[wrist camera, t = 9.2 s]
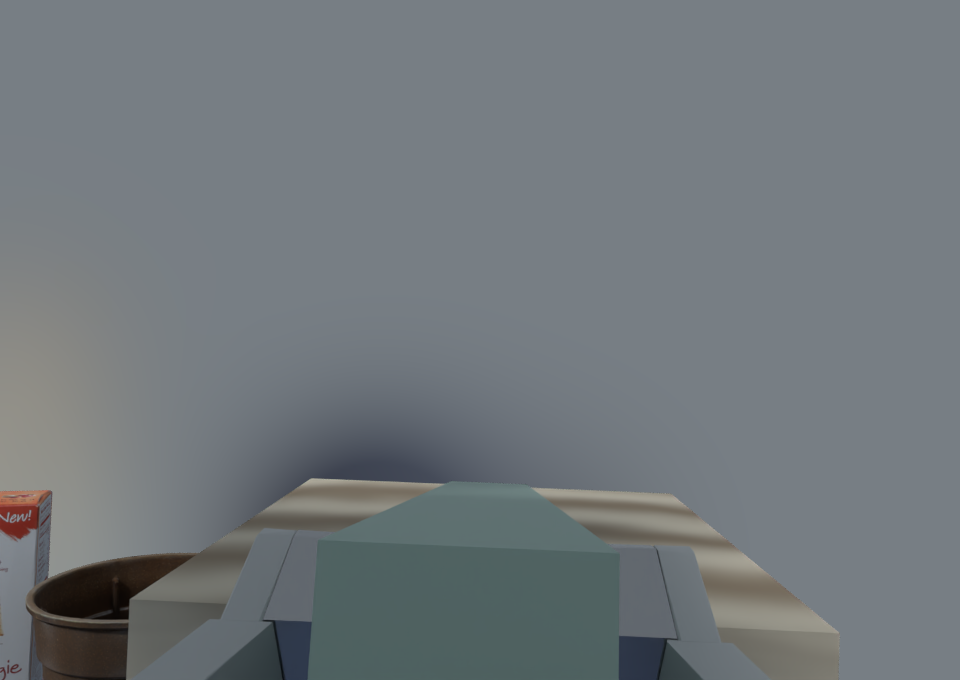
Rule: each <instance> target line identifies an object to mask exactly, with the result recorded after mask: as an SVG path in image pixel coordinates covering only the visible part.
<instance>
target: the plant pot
mask: <svg viewBox="0 0 960 680" xmlns="http://www.w3.org/2000/svg"><path fill="white" fill-rule="evenodd" d="M197 554H199V553H166V554H151V555H141V556H132V557H125V558H118V559H112V560H107V561H102V562H97V563H93V564H89V565H85V566H81V567H78V568H74V569H71V570H68V571H65V572H63V573H60V574H57V575H55V576H53V577H50V578H48V579H46V580H44V581H42V582H41V583H39V584H37V585H36V586H35V587H33V588H32V589H31V590H30V591H29V592H28V594H27V595H26V598H25V602H26V609H27V611H28V612H29V613H30V614H31V615H32V616H33V622H34V631H35V643H36V655H37V658H38V660H39V661H40V662H41V663H42V668H43V680H126V671H127V649H128V627H129V605H130V599H131V598H132V597H134V596H135V595H137V594H138V593H140V592H141V591H143V590H144V589H146V588H147V587H149V586H150V585H152V584H153V583H155V582H156V581H158V580H159V579H161V578H162V577H164V576H165V575H167V574H169V573H170V572H172V571H173V570H175V569H176V568H178V567H179V566H181V565H182V564H184V563H185V562H187V561H188V560H190V559H191V558H193V557H194V556H196V555H197Z"/></svg>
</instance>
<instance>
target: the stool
mask: <svg viewBox="0 0 960 680" xmlns="http://www.w3.org/2000/svg"><path fill="white" fill-rule="evenodd" d="M442 485H444V484H430V483H406V482H382V481H360V480H335V479H310V480H308V481H307V482H306V483H304V484H302V485H301V486H299V487H298V488H296V489H295V490H293V491H292V492H290V493H289V494H287V495H286V496H284V497H283V498H281V499H280V500H279V501H277V502H275V503H274V504H273V505H271V506H269V507H268V508H266V509H265V510H264V511H262V512H260V513H259V514H257V515H256V516H254V517H253V518H251V519H250V520H248V521H247V522H245V523H244V524H242V525H241V526H239V527H238V528H236V529H235V530H233V531H232V532H230V533H229V534H227V535H226V536H224V537H223V538H221V539H220V540H218V541H217V542H215V543H214V544H212V545H211V546H209V547H208V548H206V549H205V550H203V551H202V552H200V553H199V554H197V555H196V556H194V557H193V558H191V559H190V560H188V561H187V562H185V563H184V564H182V565H181V566H179V567H178V568H176V569H175V570H173V571H172V572H170V573H169V574H167V575H165V576H164V577H162V578H161V579H159V580H158V581H156V582H155V583H153V584H152V585H150V586H149V587H147V588H146V589H144V590H143V591H141V592H140V593H138V594H137V595H135V596H134V597H132V598H131V599H130V605H129V627H128V649H127V671H126V680H131V679H132V678H133V677H135V676H136V675H137V674H138V673H140V672H141V671H142V670H144V669H145V668H146V667H148V666H149V665H150V664H152V663H153V662H154V661H155V660H157V659H158V658H159V657H161V656H162V655H163V654H165V653H166V652H167V651H169V650H170V649H171V648H172V647H174V646H175V645H176V644H178V643H179V642H180V641H182V640H183V639H184V638H185V637H187V636H188V635H189V634H191V633H192V632H193V631H195V630H196V629H197V628H199V627H200V626H201V625H202V624H204V623H205V622H206V621H208V620H209V619H221V616H222V614H223V612H224V609H225V607H226V605H227V603H228V600H229V598H230V596H231V593H232V591H233V589H234V586H235V584H236V582H237V580H238V577H239V575H240V573H241V570H242V568H243V566H244V564H245V561H246V559H247V557H248V554H249V552H250V550H251V547H252V545H253V543H254V541H255V538H256V536H257V535H258V534H259V533H260V532H261V531H262V530H263V529H264V528H271V529H284V530H311V531H326V532H337V531H340V530H342V529H344V528H346V527H349V526H351V525H353V524H355V523H358V522H360V521H362V520H364V519H367V518H369V517H371V516H374V515H376V514H378V513H380V512H383V511H385V510H387V509H389V508H392V507H394V506H396V505H399V504H401V503H403V502H405V501H408V500H410V499H412V498H414V497H417V496H419V495H421V494H423V493H426V492H428V491H430V490H433V489H435V488H437V487H439V486H442ZM532 489H533V490H535V491H536V492H538V493H539V494H540V495H542V496H543V497H544V498H546V499H547V500H548V501H550V502H551V503H552V504H554V505H555V506H556V507H558V508H559V509H560V510H562V511H563V512H565V513H566V514H567V515H569V516H570V517H571V518H573V519H574V520H575V521H577V522H578V523H579V524H581V525H582V526H583V527H585V528H586V529H587V530H589V531H590V532H592V533H593V534H594V535H596V536H597V537H598V538H600V539H601V540H602V541H604V542H605V543H606V544H628V545H652V546H654V545H665V546H690V548H691V549H692V550H693V551H694V553H695V556H696V560H697V563H698V566H699V570H700V573H701V576H702V580H703V583H704V586H705V589H706V593H707V596H708V599H709V603H710V606H711V609H712V613H713V616H714V619H715V623H716V626H717V629H718V632H719V636H720V639H721V642H723V643H733V644H734V645H735V646H736V647H737V648H738V649H739V650H740V651H741V652H743V653H744V654H745V655H746V656H747V657H748V658H749V659H750V660H751V661H752V662H753V663H754V664H755V665H756V666H757V667H758V668H759V669H761V670H762V671H763V672H764V673H765V674H766V675H767V676H768V677H769V678H770V679H771V680H838V676H839V641H840V639H839V638H840V633H839V632H838V631H836V630H835V629H834V628H833V627H831V626H830V625H829V624H828V623H827V622H825V621H824V620H823V619H822V618H820V616H818V615H817V614H816V613H815V612H813V611H812V610H811V609H810V608H809V607H807V606H806V605H805V604H804V603H802V602H801V601H800V600H799V599H798V598H797V597H795V596H794V595H793V594H792V593H790V592H789V591H788V590H787V589H786V588H784V587H783V586H782V585H781V584H780V583H778V582H777V581H776V580H775V579H774V578H772V577H771V576H770V575H769V574H767V573H766V572H765V571H764V570H762V569H761V568H760V567H759V566H757V564H755V563H754V562H753V561H752V560H751V559H749V558H748V557H747V556H746V555H745V554H743V553H742V552H741V551H739V550H738V549H737V548H736V547H735V546H734V545H732V544H731V543H730V542H729V541H728V540H726V539H725V538H724V537H723V536H722V535H720V534H719V533H718V532H717V531H715V530H714V529H713V528H712V527H711V526H709V525H708V524H707V523H706V522H705V521H703V520H702V519H701V518H700V517H699V516H697V515H696V514H695V513H694V512H693V511H691V510H690V509H689V508H688V507H686V506H685V505H684V504H682V503H681V502H680V501H679V500H678V499H677V498H676V497H674V496H673V495H672V494H664V493H641V492H640V493H639V492H617V491H592V490H571V489H545V488H532Z"/></svg>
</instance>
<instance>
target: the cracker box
mask: <svg viewBox="0 0 960 680" xmlns="http://www.w3.org/2000/svg"><path fill="white" fill-rule="evenodd" d="M51 506H52V491H49V490H45V491H44V490H42V491H2V492H0V680H43V668H42V663H41V662H40V661H39V660H38V658H37V655H36V643H35V631H34V622H33V616H32V615H31V614H30V613H29V612H28V611H27V609H26V602H25V598H26V595H27V594H28V592H29V591H30V590H31V589H32V588H33V587H35V586H36V585H37V584H39V583H41V582H42V581H44V580H46V579H48V571H49V550H50V547H49V546H50V525H51Z"/></svg>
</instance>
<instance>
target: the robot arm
mask: <svg viewBox="0 0 960 680" xmlns="http://www.w3.org/2000/svg"><path fill="white" fill-rule="evenodd" d="M333 533H335V532H326V531H311V530H284V529H271V528H264V529H263V530H262V531H261V532H260V533H259V534H258V535H257V536H256V538H255V541H254V543H253V545H252V547H251V550H250V552H249V554H248V557H247V559H246V561H245V564H244V566H243V568H242V570H241V573H240V575H239V577H238V580H237V582H236V584H235V586H234V589H233V591H232V593H231V596H230V598H229V600H228V603H227V605H226V607H225V609H224V612H223V614H222V616H221V619H209V620H208V621H206V622H205V623H204V624H202V625H201V626H200V627H199V628H197V629H196V630H195V631H193V632H192V633H191V634H189V635H188V636H187V637H185V638H184V639H183V640H182V641H180V642H179V643H178V644H176V645H175V646H174V647H172V648H171V649H170V650H169V651H167V652H166V653H165V654H163V655H162V656H161V657H159V658H158V659H157V660H155V661H154V662H153V663H152V664H150V665H149V666H148V667H146V668H145V669H144V670H142V671H141V672H140V673H138V674H137V675H136V676H135V677H133V678H132V679H131V680H308V666H309V653H310V639H311V626H312V613H313V599H314V586H315V572H316V559H317V545H318V540H319V539H321V538H324V537H326V536H328V535H330V534H333ZM608 545H609V546H610V547H612V548H613V549H614V550H616V551H617V552H619V553H620V577H619V680H771V679H770V678H769V677H768V676H767V675H766V674H765V673H764V672H763V671H762V670H761V669H759V668H758V667H757V666H756V665H755V664H754V663H753V662H752V661H751V660H750V659H749V658H748V657H747V656H746V655H745V654H744V653H743V652H741V651H740V650H739V649H738V648H737V647H736V646H735V645H734V644H733V643H723V642H721V639H720V636H719V632H718V629H717V626H716V623H715V619H714V616H713V613H712V609H711V606H710V603H709V599H708V596H707V593H706V589H705V586H704V583H703V580H702V576H701V573H700V570H699V566H698V563H697V560H696V556H695V553H694V551H693V550H692V549H691V548H690V546H665V545H654V546H652V545H628V544H608Z"/></svg>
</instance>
